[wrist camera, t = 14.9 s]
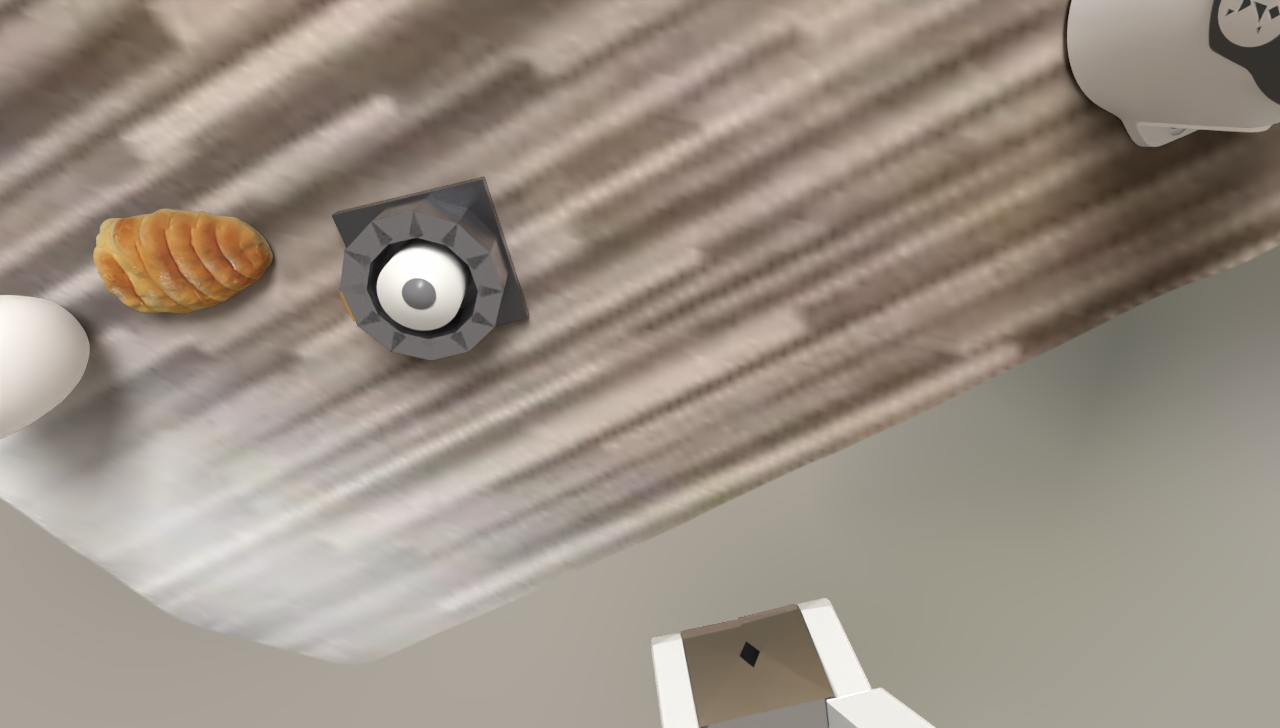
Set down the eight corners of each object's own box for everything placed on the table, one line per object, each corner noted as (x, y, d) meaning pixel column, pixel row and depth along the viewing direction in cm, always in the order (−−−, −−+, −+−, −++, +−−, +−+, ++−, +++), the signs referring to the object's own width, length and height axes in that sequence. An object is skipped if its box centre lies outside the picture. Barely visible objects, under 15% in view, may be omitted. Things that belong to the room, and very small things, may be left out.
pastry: (249, 188, 39) (218, 202, 36) (295, 285, 42) (271, 306, 39) (104, 217, 39) (60, 233, 35) (162, 312, 42) (126, 335, 39)
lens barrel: (484, 176, 40) (473, 192, 35) (529, 312, 44) (524, 341, 40) (337, 211, 40) (308, 232, 35) (397, 344, 45) (378, 376, 40)
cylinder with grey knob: (457, 226, 40) (444, 246, 36) (481, 295, 42) (471, 321, 38) (383, 243, 40) (362, 265, 36) (411, 310, 42) (394, 339, 38)
